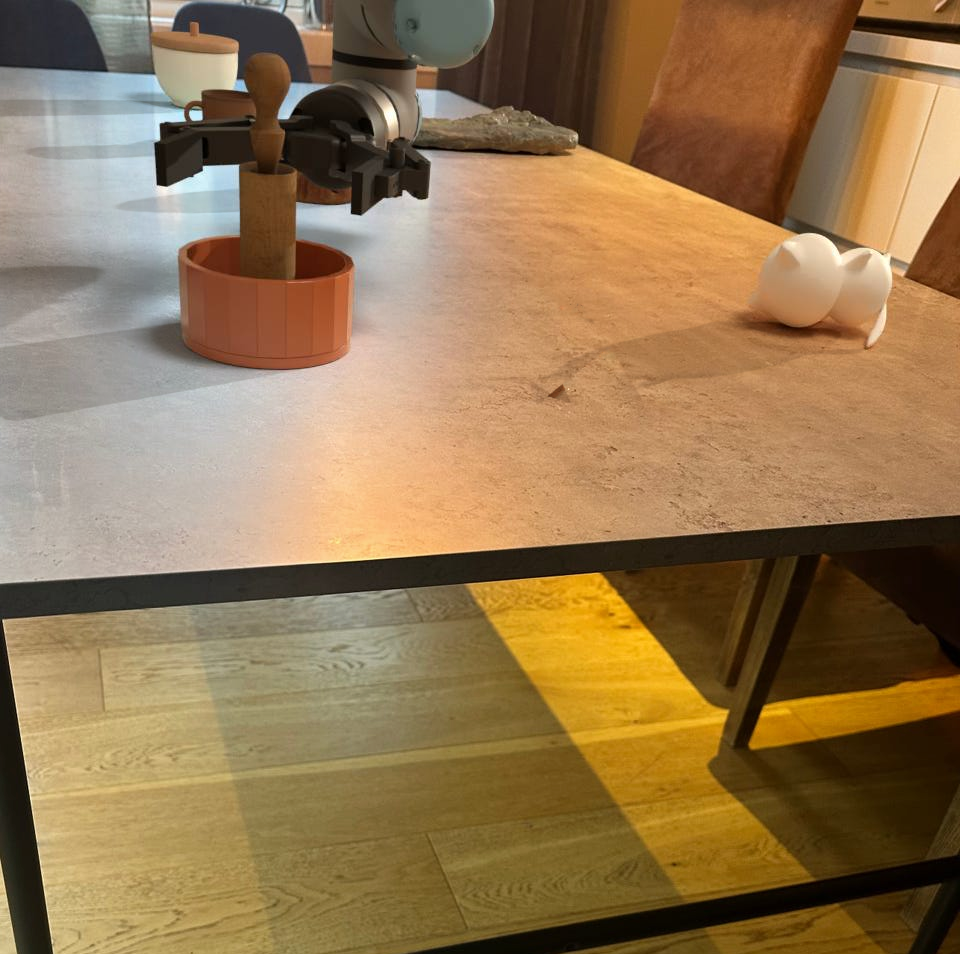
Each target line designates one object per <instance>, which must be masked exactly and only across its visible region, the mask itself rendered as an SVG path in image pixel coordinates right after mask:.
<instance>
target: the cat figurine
mask: <svg viewBox="0 0 960 954" xmlns="http://www.w3.org/2000/svg"><path fill="white" fill-rule="evenodd" d="M891 255H892V254H891V252H888V253H884V254H883V255H882V254H881V252H879V251H877V250H875V249H873V248H869V247H857V248H853V249H850V250H847V251H845V252H843V253H841V254H840V252H839V250H838V248H837V247H836V245H835V244H834V243H833V242H832V241H831V240H830V239H829V238H827V237H826V236H825V235H821V234H818V233H812V232H805V233H800V234H797V235H793V236H791V237H789V238H787V239H785V240H784V241H782V242H781V243H778V244H777V246H776V247H774V249H772V250H771V252H770V253H769V254H768V255H767V257H766V258H765V259H764V261H763V263H762V265H761V267H760V269H759V270H760V271H759V274H758V278H757V279H758V280H757V286H756V288H755V289H754V291H753V292H752V293H751V295H750V296H749V297H748V299H747V300H746V306H747V307H748V308H749V309H752V310H755V311H758V312H763V313H767V314H769V315H771V316H772V317H773V318H774V319H775V320H777V321H778V322H779V323H781V324H783V325H785V326H788V327H791V328H806V327H810V326H812V325H814V324H816V323H818V322H820V321H827V319H828V318H830V319H832V320H833V321H834V322H836V323H838V324H839V325H842V326H845V327H848V328H849V327H859V326H861V325H863V324H866V323H867V322H869V321H870V320H872V319H873V318H874V317H875V316H877V314H878V316H877V318H876V321H875V322H874V325H873V327H872V329H871V331H870V333H869V336H868V338H867V340H866V344H865V347H866V346H867V347H870V346H871V347H872V346H873V345H874V344H875V343H876V342H877V341H878V339H879V337H880V336H881V335H882V333H883V330H884V328H885V326H886V320H887V300H888V298H889V297H890V294H891V291H892V287H893V285H892V284H893V273H892V268H891V266H890V263H891ZM821 319H822V320H821ZM867 347H866V348H867ZM871 347H870V348H871Z"/></svg>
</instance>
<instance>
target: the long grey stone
mask: <svg viewBox="0 0 960 954" xmlns="http://www.w3.org/2000/svg"><path fill="white" fill-rule="evenodd" d="M578 144H579V134H578V133H577V131H574V130H573V129H571V128H567V127H564V126H558V125H554V124H552V123H551V122H549V120H547V119H545V118H544V117H541V116H538V115H537V116H536V115H535V114H533V113H532V112H531V111H530V110H523V111H520V110H516V109H514V107H513V105H509V106H508V105H506V106H501V107H498V108H495V109H493V110H492V111H491V112H490V113H478V114H474V115H472V116H471V117H469V116H467V117H463V118H460V117H459V118H457V119H453V120H451V119H450V118H448V117H444V118H443V117H442V118H440V117H439V118H438V117H437V118H436V117H425V116H424V117H423V116H422V123H421V127H420V130H419V133H418V135H417V137H416V138H415V140H414V141H413V143H412V144H411V146H419V147H422V148H425V147H426V148H427V147H433V148H435V147H436V148H441V149H447V150H461V151H462V150H463V151H464V150H465V151H466V150H469V151H470V150H479V149H482V150H488V149H492V150H497V151H502V152H509V153H517V152H520V151H521V152H529V153H532V154H536V155H537V154H538V155H539V156H543V155H544V154H548V153H549V152H558V151H559V152H563V151H566V150H568V151H570V150H576V148H577V146H578Z"/></svg>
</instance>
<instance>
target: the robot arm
mask: <svg viewBox="0 0 960 954" xmlns="http://www.w3.org/2000/svg"><path fill="white" fill-rule="evenodd" d="M494 1H495V0H332V50H331V78H330V79H331V80H330V81H331V82H330V84H329V85H327V86H324V87H322V88H320V89H316V90H314V91H312V92H310V93H308V94H306V95H305V96H304V97H302V98H301V99H300V100H299V101H298V102H297V103H296V105H295V107H294V108H293V110H292V111H291V113H290V115H289V117H288V118H278V123H279V126H280V128H281V129H283V130H284V131H285V137H284V143H283V147H282V151H281V155H280V157H281V158H283V159H284V160H279V164H284V165H287V166H290V167H293V168H294V169H296V171H298V172H301V173H302V174H303V176H304V177H306V178H307V179H308V180H309V181H310V182H312V183H313V184H315V185H317V186H319V187H322V188H324V189H329V190H345V189H348V188H351V187H352V188H351V202H350V215H352V216H360V217H362V216H364V215H365V214H366V213H367V212H368V211H370V210H371V209H372V208H373V207H374V206H376V205H377V204H379V202H381V201H383V199H392V198H393V199H398V198H399V197H400V198H401V197H403V194H404V193H403V192H404V191H405V192H407V193H408V194H409V195H410V196H411V197H412V198H414V199H416V200H418V201H423V200H427V199H429V196H430V183H431V182H430V181H431V169H432V167H431V166H432V162H431V160H429V159H428V158H427V157H425V156H424V155H423V154H422V153H420V152H419V151H418V150H417V149H415V148H414V147H413V146H412V145H411V144H412V143H413V141H414V140H415V138H416V137H417V135H418V133H419V130H420V127H421V123H422V118H423V105H422V101H421V99H420V95H419V93H418V91H417V74H418V73H417V72H418V66H420V67H423V68H424V67H427V68H437V69H442V70H443V69H444V70H445V69H446V70H449V69H454V68H458V67H462V66H464V65H466V64H468V63H469V62H470V61H471V60H473V59H474V58H475V57H477V56H478V55H479V53H480V52H481V50H482V49H483V48H484V46H485V45H486V43H487V41H488V39H489V37H490V35H491V32H492V29H493V25H494V21H495V20H494V18H495V3H494ZM255 120H256V117H255V116H253V115H251V114H246V115H245V116H239V117H235V118H226V119H212V120H202V119H200V120H193V121H186V120H185V121H163V122H160V123H159V124H158V125H159V126H158V127H159V140H158V141H154V142H153V146H154V166H155V182H156V183H155V184H156V186H157V187H164V188H168V187H170V186H172V185H175V184H177V183H180V182H182V181H184V180H186V179H190V178H194V177H195V175H197V174H200V173H202V172H203V171H204V167H214V166H217V167H219V166H239V165H240V164H242V163H246V162H253V161H256V157H255V153H254V149H253V145H252V141H251V135H250V128H251V127H253V126H254V124H255Z"/></svg>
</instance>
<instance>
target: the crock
mask: <svg viewBox="0 0 960 954" xmlns="http://www.w3.org/2000/svg"><path fill="white" fill-rule="evenodd" d="M177 267H178V268H177V269H178V285H179V286H178V287H179V288H178V289H179V306H180V307H179V308H180V309H179V310H180V328H181V338H182V342H183V343H184V345H185V346H186V347H187V348H188V349H189V350H191V351H192V352H193V353H195V354H197V355H199V356H201V357H204V358H206V359H209V360H212V361H216V362H219V363H223V364H227V365H232V366H237V367H244V368H252V369H261V370H262V369H263V370H264V369H265V370H266V369H267V370H290V369H291V370H292V369H303V368H311V367H317V366H321V365H326V364H328V363H332V362H335V361H337V360H339V359H341V358H342V357H345V355H346V354H348V353H349V351H350V349H351V345H352V337H353V319H354V318H353V317H354V313H353V312H354V292H355V291H354V290H355V267H356V266H355V263H354V261H353V259H352V256H350V255H348V254H346V253H345V252H344V251H342V250H340V249H337V248H334V247H332V246H329V245H326V244H323V243H320V242H314V241H310V240H307V239H306V240H305V239H301V238H296V252H295V280H268V279H254V278H247V277H240V234H226V235H218V236H211V237H210V236H209V237H203V238H200V239H199V238H198V239H196V240H193V241H190V242H187V243H185V244H184V245H182V246H181V247H180V248H178V251H177Z"/></svg>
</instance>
